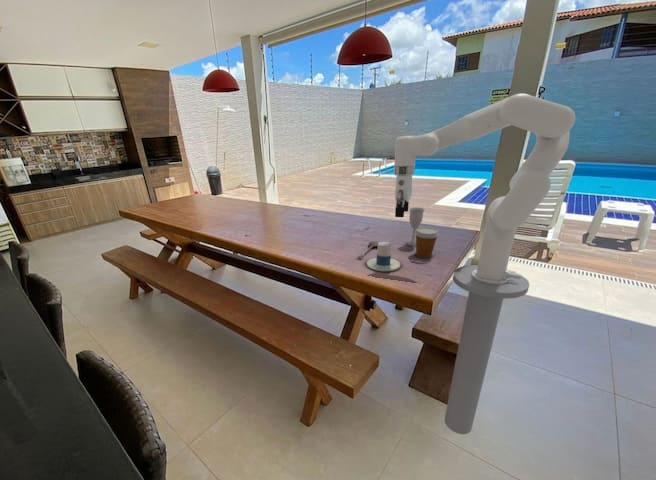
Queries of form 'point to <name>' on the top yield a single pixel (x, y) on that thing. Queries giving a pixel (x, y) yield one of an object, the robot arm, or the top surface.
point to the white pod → (383, 248)
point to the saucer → (393, 266)
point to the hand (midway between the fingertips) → (401, 214)
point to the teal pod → (383, 260)
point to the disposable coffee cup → (425, 241)
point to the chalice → (415, 221)
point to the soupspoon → (372, 244)
